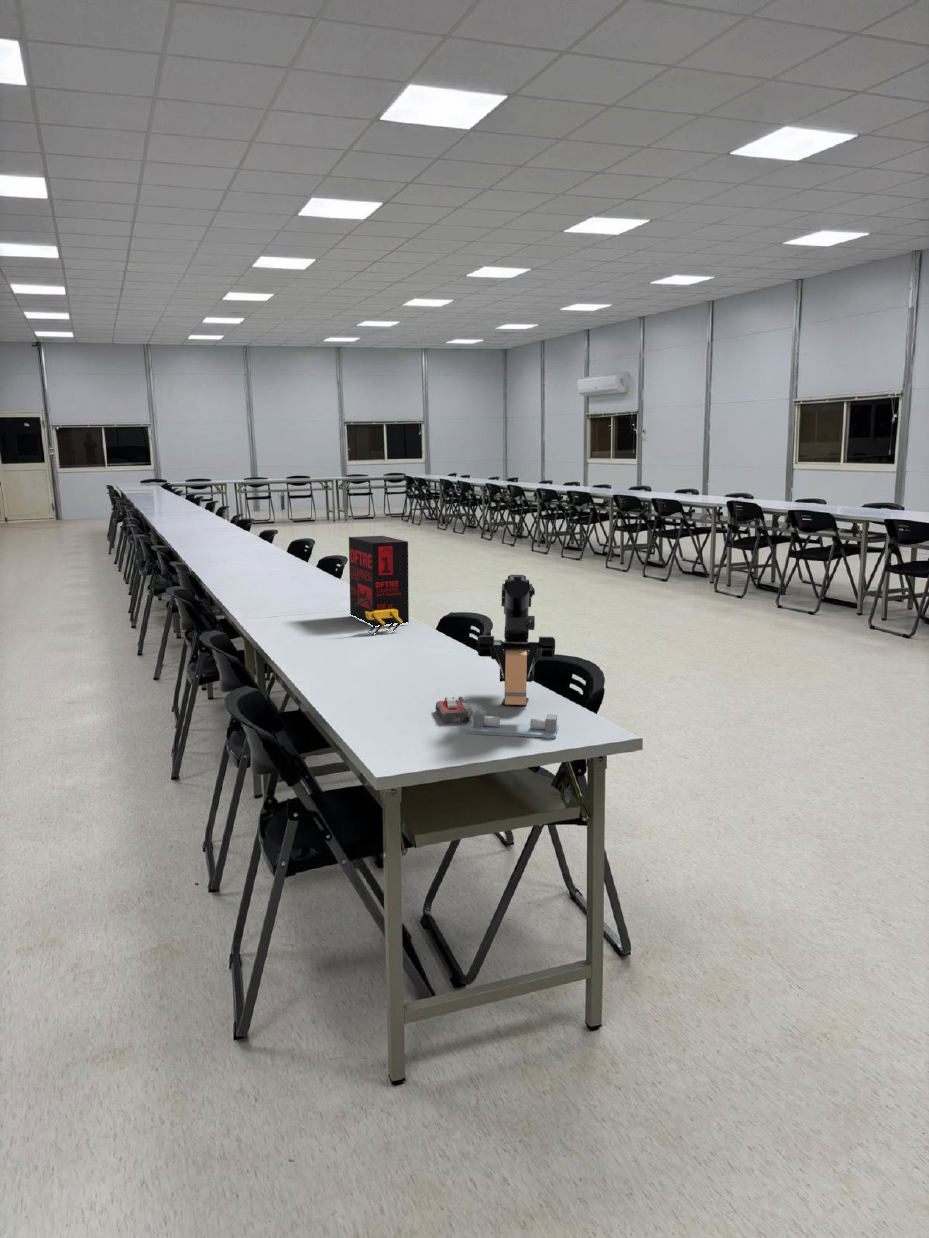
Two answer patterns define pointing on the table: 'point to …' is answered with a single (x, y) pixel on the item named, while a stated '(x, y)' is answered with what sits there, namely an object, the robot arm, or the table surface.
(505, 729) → the grey holder base
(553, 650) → the robot arm
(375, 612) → the robot dog
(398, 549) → the product box
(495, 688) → the table surface
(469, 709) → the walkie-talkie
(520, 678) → the tan rectangular block
